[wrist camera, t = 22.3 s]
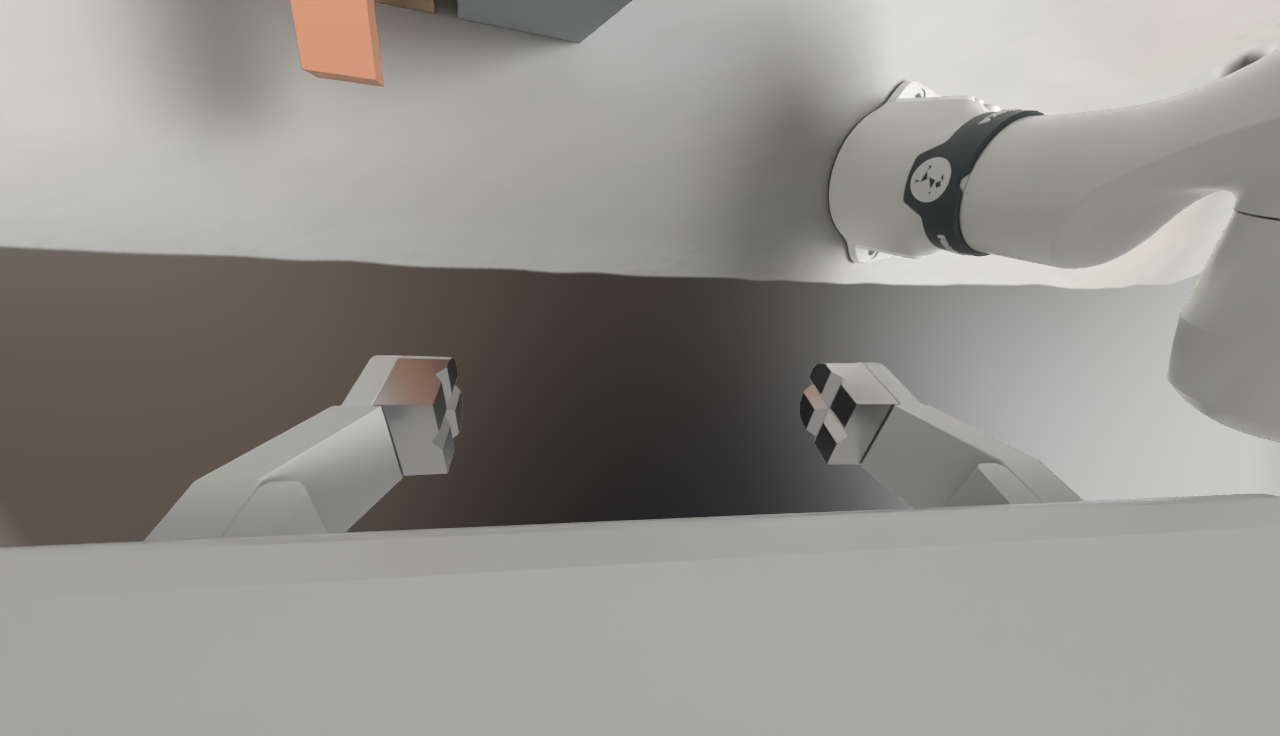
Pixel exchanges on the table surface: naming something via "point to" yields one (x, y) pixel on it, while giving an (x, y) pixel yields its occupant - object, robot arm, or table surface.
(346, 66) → the bar
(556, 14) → the pedestal
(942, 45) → the table surface
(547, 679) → the robot arm
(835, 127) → the table surface
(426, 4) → the block
